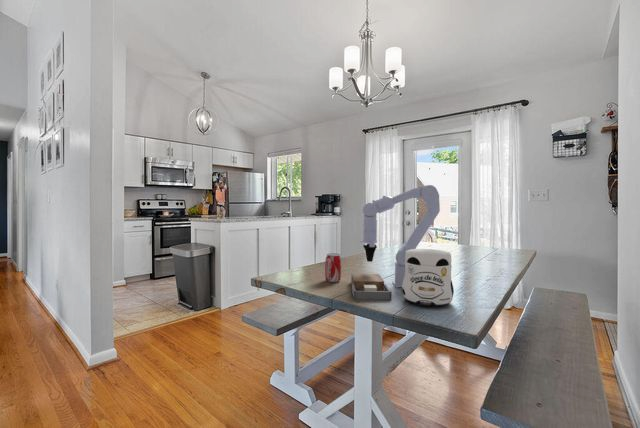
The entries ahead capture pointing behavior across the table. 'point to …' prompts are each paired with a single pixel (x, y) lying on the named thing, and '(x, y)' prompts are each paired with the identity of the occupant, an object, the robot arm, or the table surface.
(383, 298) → the tray
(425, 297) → the milk container
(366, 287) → the cream tile
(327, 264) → the soda can
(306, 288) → the table surface
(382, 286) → the brown block
